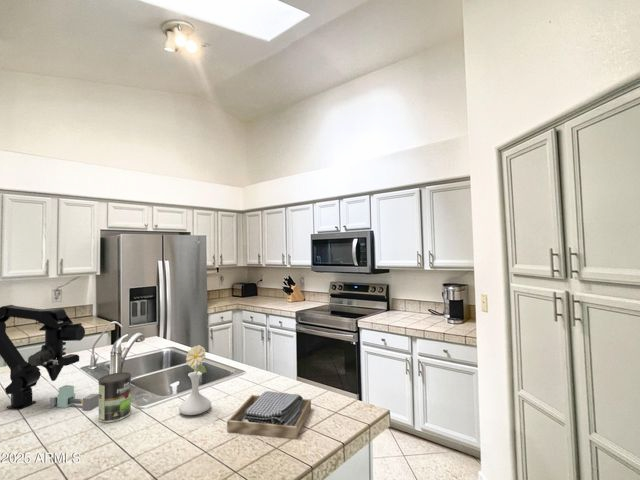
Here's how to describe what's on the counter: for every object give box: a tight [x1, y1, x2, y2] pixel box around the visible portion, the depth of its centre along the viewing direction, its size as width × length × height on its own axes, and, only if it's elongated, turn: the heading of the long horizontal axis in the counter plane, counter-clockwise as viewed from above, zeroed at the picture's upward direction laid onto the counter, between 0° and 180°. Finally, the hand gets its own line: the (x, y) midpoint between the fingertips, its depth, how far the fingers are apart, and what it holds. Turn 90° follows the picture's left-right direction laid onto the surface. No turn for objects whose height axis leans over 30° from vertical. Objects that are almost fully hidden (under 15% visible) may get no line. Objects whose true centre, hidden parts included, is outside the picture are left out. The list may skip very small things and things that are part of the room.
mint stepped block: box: [56, 384, 76, 409], centre depth 133 cm, size 4×4×7 cm
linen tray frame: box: [226, 394, 312, 440], centre depth 119 cm, size 24×21×4 cm
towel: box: [243, 390, 304, 426], centre depth 119 cm, size 15×18×8 cm
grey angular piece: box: [45, 393, 99, 411], centre depth 132 cm, size 18×7×4 cm, turn 78°
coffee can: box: [97, 371, 132, 424], centre depth 124 cm, size 10×10×14 cm
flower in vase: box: [178, 344, 212, 416], centre depth 127 cm, size 13×11×25 cm
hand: (53, 380), depth 134 cm, fingers closed
